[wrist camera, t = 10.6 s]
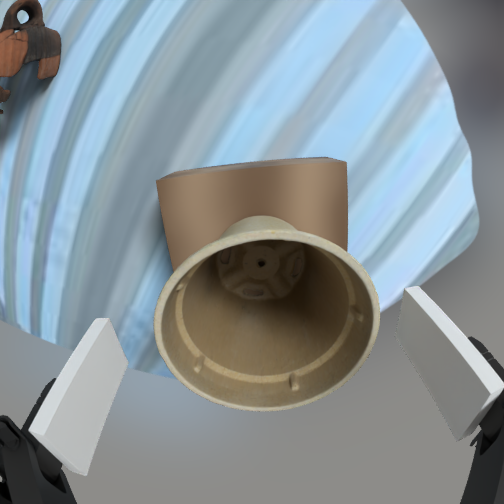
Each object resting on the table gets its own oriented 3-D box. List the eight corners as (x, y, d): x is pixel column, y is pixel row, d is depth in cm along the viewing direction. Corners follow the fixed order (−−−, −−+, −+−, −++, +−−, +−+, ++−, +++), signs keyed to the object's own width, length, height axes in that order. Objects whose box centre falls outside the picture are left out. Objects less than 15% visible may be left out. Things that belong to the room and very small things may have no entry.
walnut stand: (198, 302, 26) (190, 336, 21) (174, 171, 22) (155, 180, 17) (328, 290, 26) (343, 321, 21) (325, 156, 21) (346, 161, 17)
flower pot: (172, 207, 18) (116, 263, 10) (319, 174, 17) (378, 207, 9) (212, 327, 21) (197, 419, 13) (335, 302, 20) (375, 388, 12)
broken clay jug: (60, 104, 19) (-18, 126, 13) (32, 98, 22) (-27, 116, 15) (79, -13, 12) (-3, -9, 6) (45, 5, 15) (-18, 14, 8)
